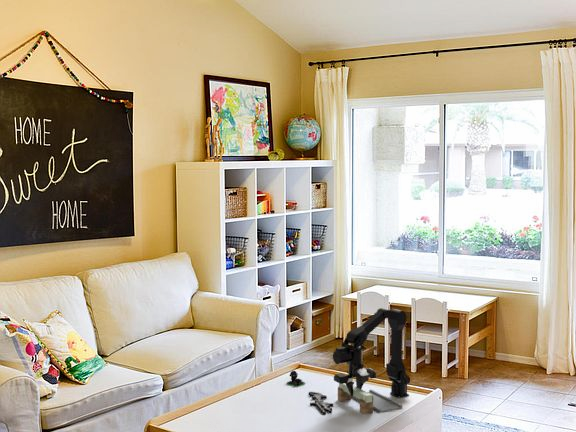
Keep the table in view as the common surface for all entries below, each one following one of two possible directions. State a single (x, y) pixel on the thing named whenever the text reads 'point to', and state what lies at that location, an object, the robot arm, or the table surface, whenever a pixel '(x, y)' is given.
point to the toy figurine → (295, 380)
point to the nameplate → (320, 402)
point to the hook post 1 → (343, 395)
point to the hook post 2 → (366, 407)
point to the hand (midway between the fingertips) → (355, 395)
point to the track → (381, 402)
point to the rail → (357, 393)
